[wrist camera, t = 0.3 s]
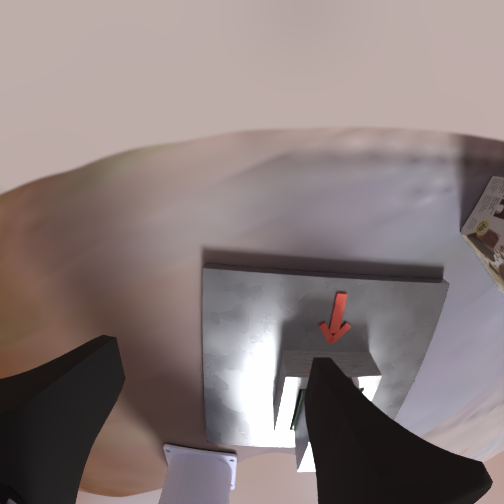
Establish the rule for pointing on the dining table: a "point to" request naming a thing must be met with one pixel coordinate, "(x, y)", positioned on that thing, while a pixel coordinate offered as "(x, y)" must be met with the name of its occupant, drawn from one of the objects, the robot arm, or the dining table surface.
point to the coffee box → (488, 230)
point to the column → (302, 436)
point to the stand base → (306, 342)
